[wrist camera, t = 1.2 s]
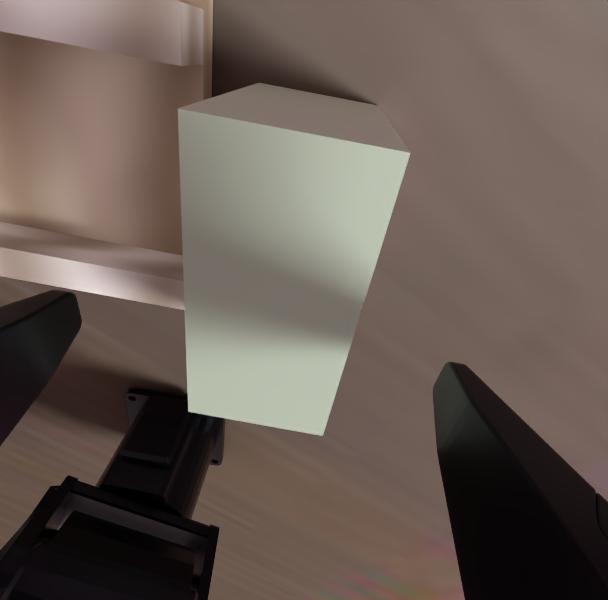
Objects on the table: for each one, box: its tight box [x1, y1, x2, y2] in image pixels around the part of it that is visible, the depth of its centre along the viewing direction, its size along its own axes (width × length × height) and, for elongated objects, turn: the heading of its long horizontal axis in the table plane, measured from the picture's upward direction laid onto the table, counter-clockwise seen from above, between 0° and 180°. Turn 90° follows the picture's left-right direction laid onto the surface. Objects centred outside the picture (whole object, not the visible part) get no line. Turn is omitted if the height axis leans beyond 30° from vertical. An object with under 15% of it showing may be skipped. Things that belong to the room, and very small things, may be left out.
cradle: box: [0, 0, 213, 310], centre depth 14 cm, size 14×12×3 cm
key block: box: [178, 83, 410, 436], centre depth 13 cm, size 9×4×8 cm, turn 171°
